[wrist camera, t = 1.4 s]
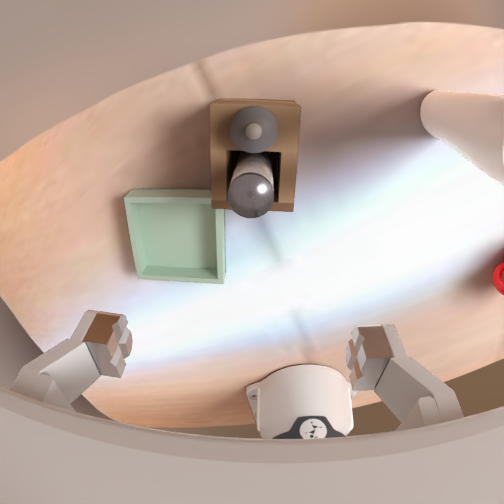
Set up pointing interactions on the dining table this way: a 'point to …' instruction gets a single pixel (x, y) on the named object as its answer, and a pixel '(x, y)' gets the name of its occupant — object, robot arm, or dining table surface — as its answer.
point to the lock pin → (252, 185)
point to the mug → (498, 278)
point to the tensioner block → (254, 144)
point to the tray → (176, 235)
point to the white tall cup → (468, 126)
